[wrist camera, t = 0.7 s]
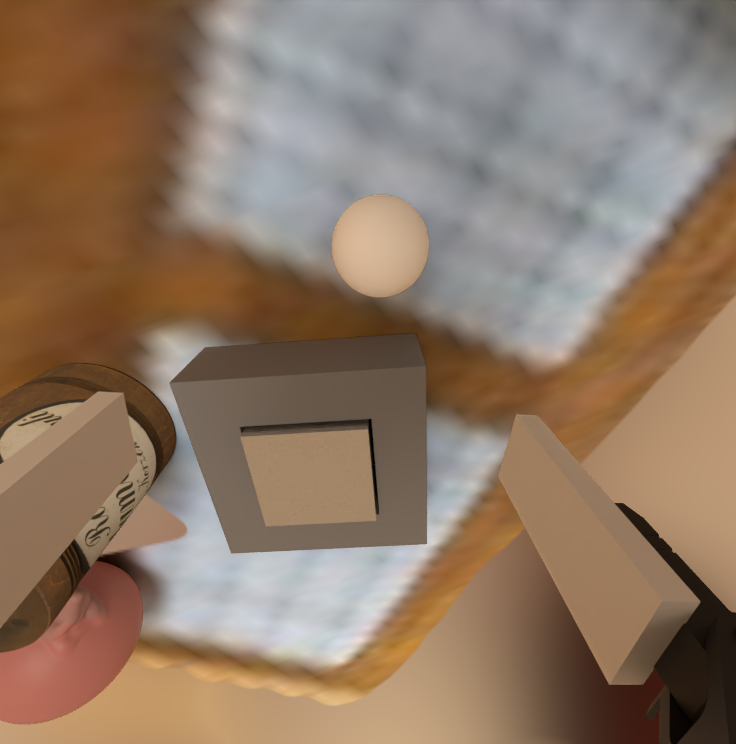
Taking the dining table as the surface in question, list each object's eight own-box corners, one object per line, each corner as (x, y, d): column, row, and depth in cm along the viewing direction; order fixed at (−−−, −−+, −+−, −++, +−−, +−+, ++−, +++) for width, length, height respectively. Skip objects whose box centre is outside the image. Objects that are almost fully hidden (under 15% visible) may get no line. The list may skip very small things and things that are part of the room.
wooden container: (200, 465, 42) (50, 714, 22) (83, 487, 43) (-154, 738, 24) (133, 347, 35) (-164, 553, 16) (-2, 378, 37) (-427, 601, 17)
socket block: (415, 333, 34) (426, 366, 28) (418, 492, 43) (426, 544, 37) (204, 347, 35) (169, 382, 29) (250, 501, 44) (231, 553, 38)
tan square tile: (368, 408, 32) (368, 429, 30) (375, 496, 37) (376, 520, 34) (250, 416, 33) (240, 436, 30) (273, 501, 37) (265, 526, 35)
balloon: (195, 543, 48) (125, 688, 34) (144, 618, 55) (70, 762, 41) (72, 494, 44) (-63, 635, 30) (36, 582, 51) (-86, 727, 38)
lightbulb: (341, 270, 32) (329, 309, 22) (339, 191, 29) (323, 195, 19) (412, 271, 32) (432, 309, 22) (417, 192, 29) (441, 196, 19)
